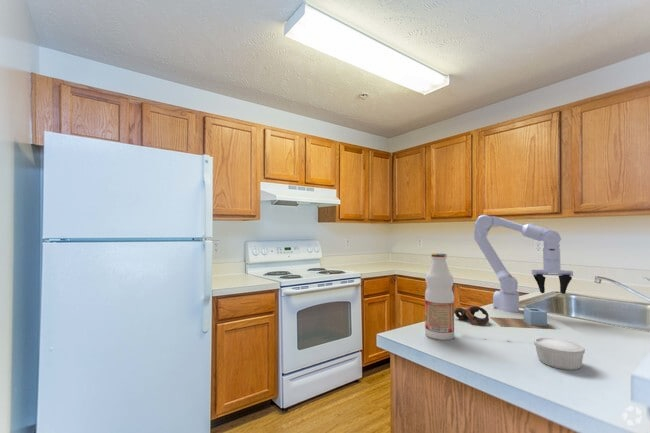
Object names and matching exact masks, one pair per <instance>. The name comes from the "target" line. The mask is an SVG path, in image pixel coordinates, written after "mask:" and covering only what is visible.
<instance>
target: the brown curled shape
mask: <svg viewBox="0 0 650 433" xmlns="http://www.w3.org/2000/svg"><path fill="white" fill-rule="evenodd" d="M478 312H481V314H482V315H484V316H485V317H481V318H480V317H478V316H476V315H475V314H476V313H478ZM454 316H456V317H457V319H459V320H460V321H463V320H467V319H469V320H470V322H471V325H472V326H486V325H487V324H488V323H489V321H490V317H489V313H488V311H487V310H486V309H484V308H483V307H481V306H478V305H470V306H468V307H467V308H466V309H464V308H463V307H457V308H455V309H454Z"/></svg>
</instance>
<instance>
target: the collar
mask: <svg viewBox="0 0 650 433" xmlns="http://www.w3.org/2000/svg"><path fill="white" fill-rule="evenodd" d="M523 319H524V321H525V322H526V323H528V324H529V325H531V326H547V324H548V313H547V311H546V310H543V309H541V308H533V307H523Z"/></svg>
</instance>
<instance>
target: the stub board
mask: <svg viewBox="0 0 650 433" xmlns="http://www.w3.org/2000/svg"><path fill="white" fill-rule="evenodd" d="M489 319H491V320H492V321H493V322H494V323H496V324H497V326H500V328H503V327H504V328H520V329H521V328H523V329H541V330H542V329H543V330H556V328H555V327H553V326H551V325H549V324H548V323H547V326H531V325H529V324H528V323H526V322H525V321H524V318H515V317H514V318H513V317H511V318H510V317H509V318H508V317H496V316H494V317H493V316H491V317H489Z"/></svg>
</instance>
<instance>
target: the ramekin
mask: <svg viewBox="0 0 650 433" xmlns="http://www.w3.org/2000/svg"><path fill="white" fill-rule="evenodd" d="M534 345H535V350H536V354H537V358H538V360H539V361H540V362H541V363H543V365H547V366H549V367H553V368H557V369H560V370H571V371H573V370H579V369H580V368H581V367H582V365H583V359H584V354H585V353H586V352H585V350H586V349H585V347H583V345H581V344H579V343H576V342H574V341H571V340H568V339H561V338H558V337H557V338H556V337H537V338H535V339H534Z"/></svg>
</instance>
